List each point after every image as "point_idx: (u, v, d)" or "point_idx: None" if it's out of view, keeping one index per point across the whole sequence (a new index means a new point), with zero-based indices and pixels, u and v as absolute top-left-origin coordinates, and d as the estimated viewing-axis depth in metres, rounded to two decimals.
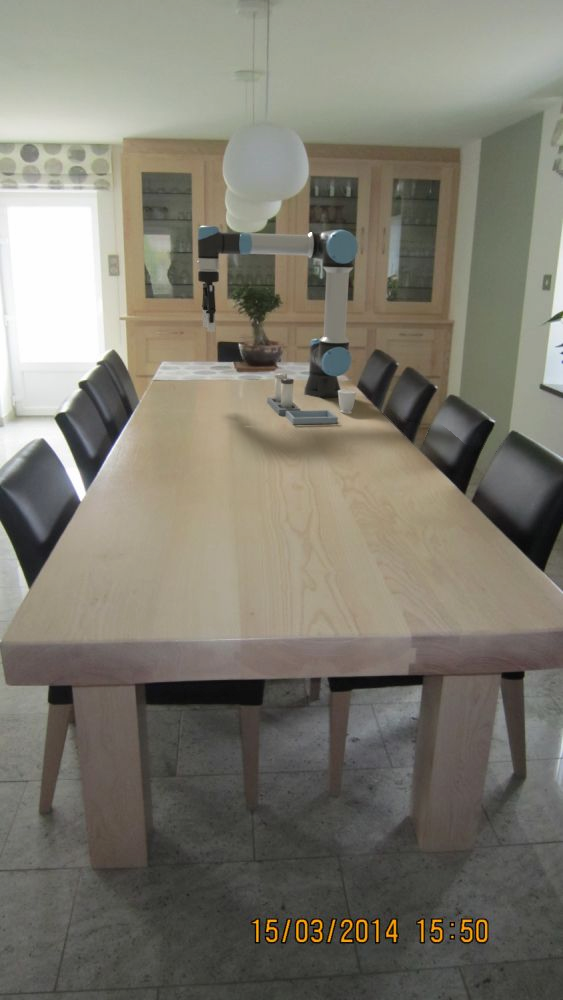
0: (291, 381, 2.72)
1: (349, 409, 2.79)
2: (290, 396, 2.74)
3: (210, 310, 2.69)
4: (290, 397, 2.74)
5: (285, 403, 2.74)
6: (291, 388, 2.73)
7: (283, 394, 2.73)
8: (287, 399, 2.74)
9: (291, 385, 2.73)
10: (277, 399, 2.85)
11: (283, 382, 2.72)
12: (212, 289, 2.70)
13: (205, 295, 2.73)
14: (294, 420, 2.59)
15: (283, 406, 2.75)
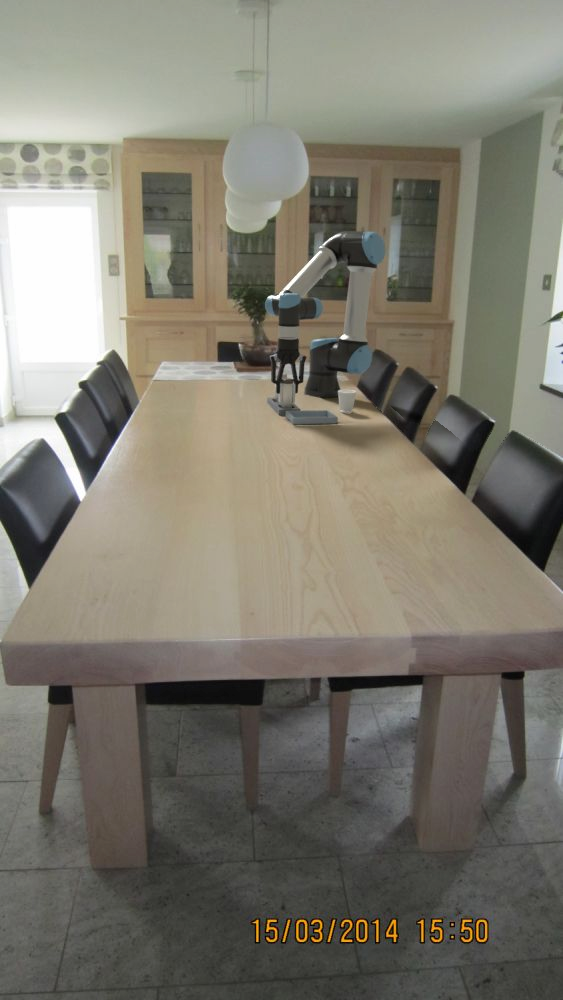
0: (291, 381, 2.72)
1: (349, 409, 2.79)
2: (290, 396, 2.74)
3: (271, 381, 2.73)
4: (290, 397, 2.74)
5: (285, 403, 2.74)
6: (291, 388, 2.73)
7: (283, 394, 2.73)
8: (287, 399, 2.74)
9: (291, 385, 2.73)
10: (277, 399, 2.85)
11: (283, 382, 2.72)
12: (271, 360, 2.69)
13: None
14: (294, 420, 2.59)
15: (283, 406, 2.75)
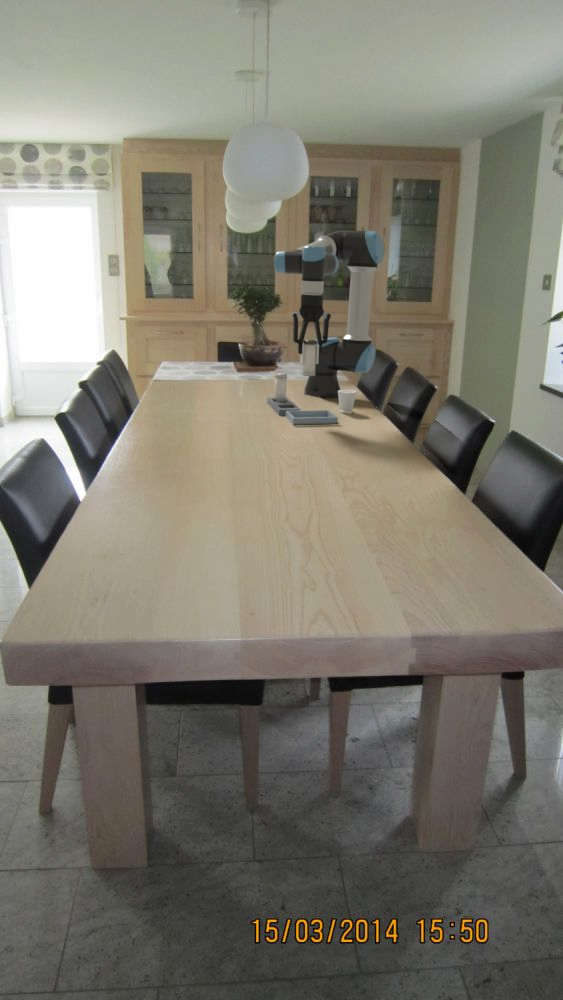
0: (314, 342, 2.57)
1: (349, 409, 2.79)
2: (313, 358, 2.58)
3: (293, 340, 2.58)
4: (313, 359, 2.59)
5: (308, 365, 2.59)
6: (314, 349, 2.58)
7: (305, 356, 2.58)
8: (310, 361, 2.58)
9: (314, 346, 2.57)
10: (277, 399, 2.85)
11: (306, 343, 2.57)
12: (293, 318, 2.54)
13: None
14: (294, 420, 2.59)
15: (305, 369, 2.60)
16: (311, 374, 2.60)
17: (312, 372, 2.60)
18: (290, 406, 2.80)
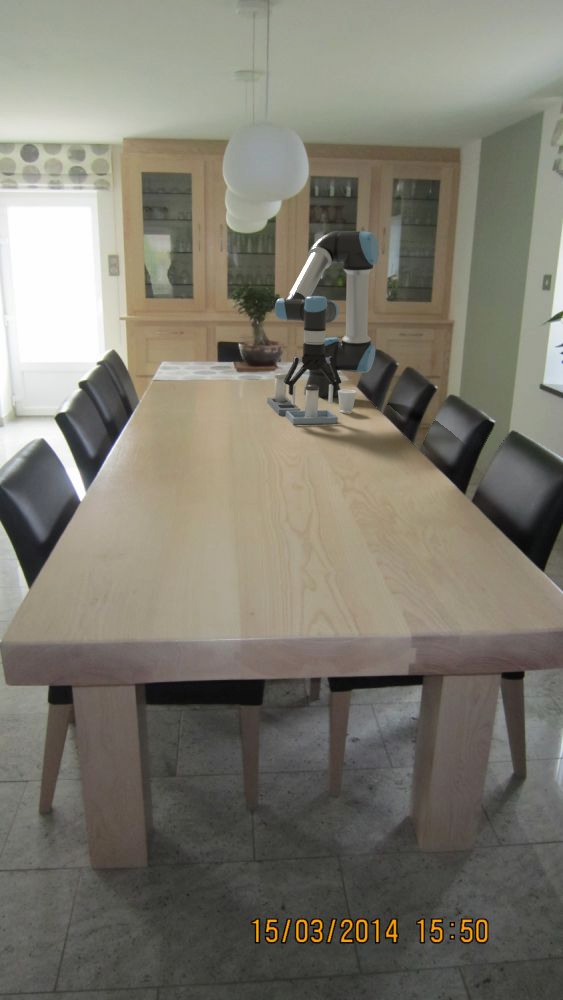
0: (316, 387, 2.61)
1: (349, 409, 2.79)
2: (315, 404, 2.62)
3: (284, 381, 2.60)
4: (315, 404, 2.63)
5: (310, 410, 2.63)
6: (316, 395, 2.62)
7: (308, 401, 2.62)
8: (312, 406, 2.62)
9: (316, 392, 2.61)
10: (277, 399, 2.85)
11: (308, 389, 2.61)
12: (294, 361, 2.57)
13: (301, 367, 2.61)
14: (294, 420, 2.59)
15: (307, 414, 2.64)
16: None
17: None
18: (290, 406, 2.80)
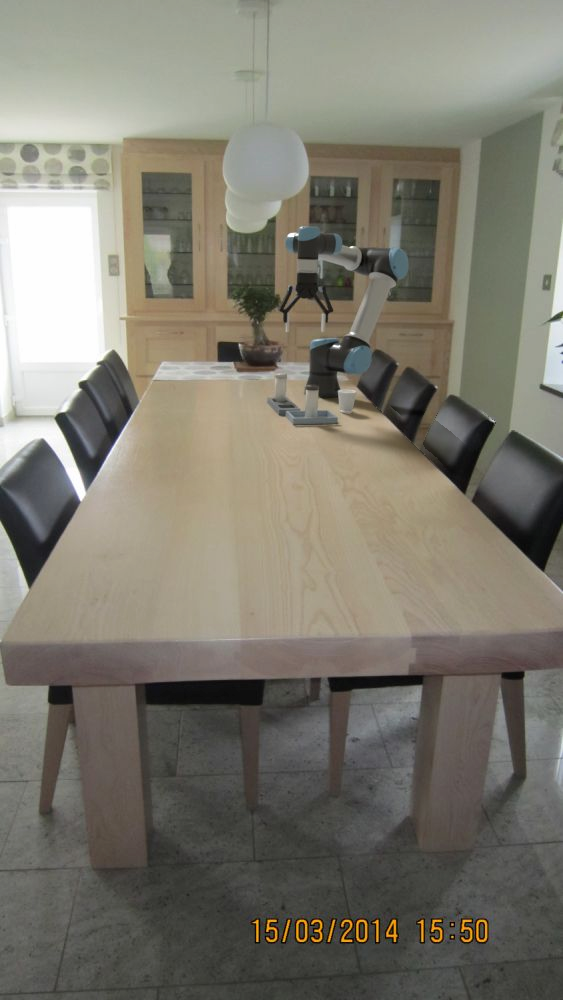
0: (316, 387, 2.61)
1: (349, 409, 2.79)
2: (315, 404, 2.62)
3: (278, 309, 2.73)
4: (315, 404, 2.63)
5: (310, 410, 2.63)
6: (316, 395, 2.62)
7: (308, 401, 2.62)
8: (312, 406, 2.62)
9: (316, 392, 2.61)
10: (277, 399, 2.85)
11: (308, 389, 2.61)
12: (288, 289, 2.70)
13: (295, 295, 2.73)
14: (294, 420, 2.59)
15: (307, 414, 2.64)
16: None
17: None
18: (290, 406, 2.80)
